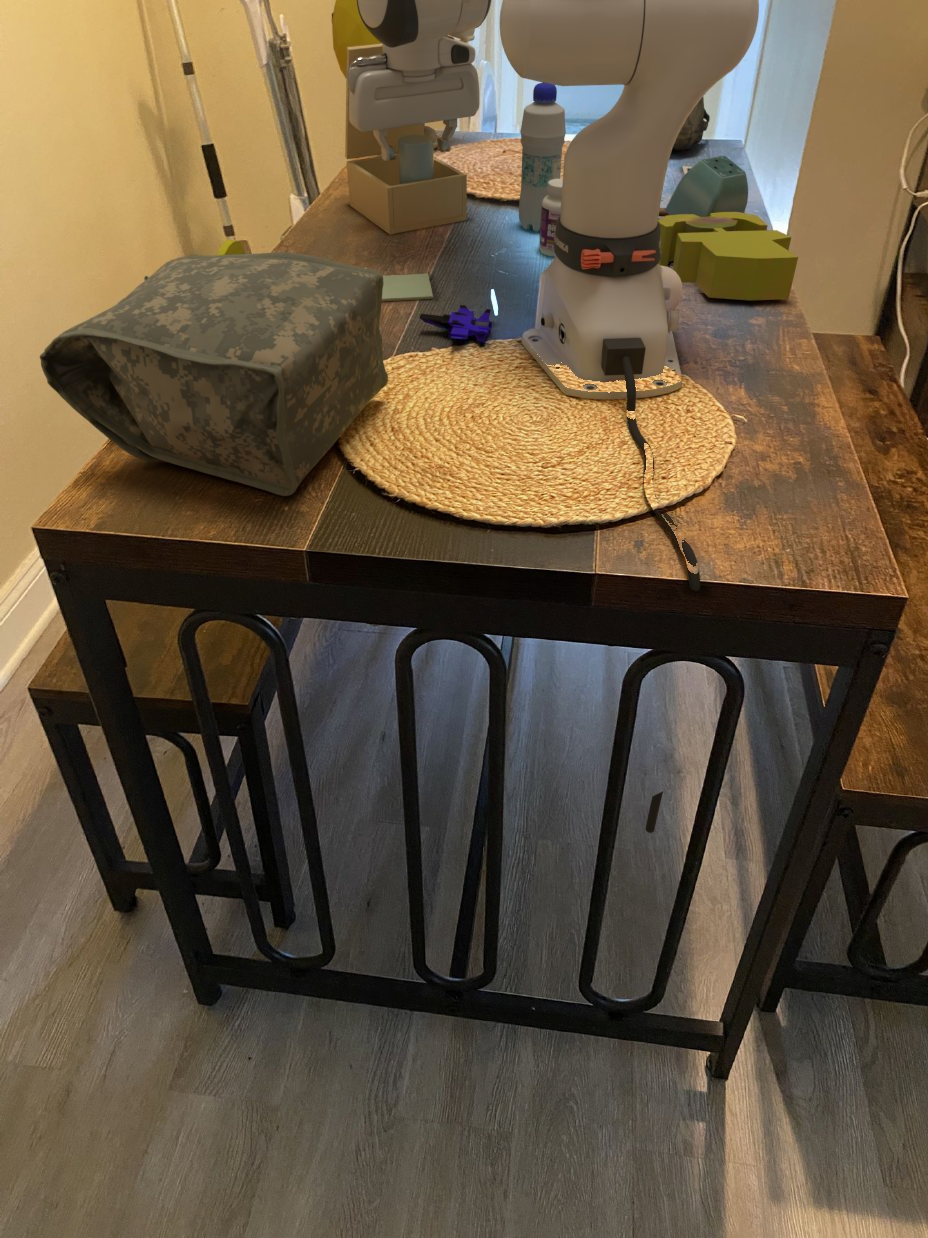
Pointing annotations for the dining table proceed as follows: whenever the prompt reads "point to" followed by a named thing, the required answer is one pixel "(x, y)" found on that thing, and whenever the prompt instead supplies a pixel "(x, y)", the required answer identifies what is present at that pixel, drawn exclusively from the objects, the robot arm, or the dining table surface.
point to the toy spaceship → (462, 324)
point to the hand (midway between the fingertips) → (416, 155)
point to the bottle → (540, 151)
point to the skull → (693, 127)
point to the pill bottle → (550, 216)
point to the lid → (366, 141)
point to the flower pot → (710, 189)
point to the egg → (672, 287)
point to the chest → (406, 195)
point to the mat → (406, 287)
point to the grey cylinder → (415, 158)
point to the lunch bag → (229, 364)
